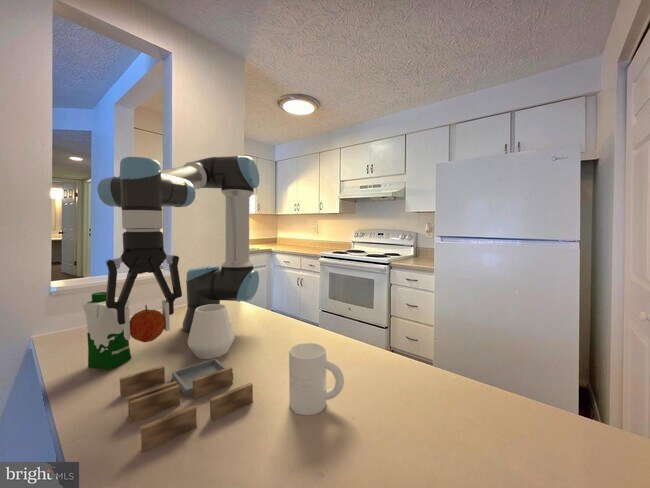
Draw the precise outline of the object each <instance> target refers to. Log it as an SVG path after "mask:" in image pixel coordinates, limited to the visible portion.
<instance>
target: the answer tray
mask: <svg viewBox="0 0 650 488" xmlns="http://www.w3.org/2000/svg"><path fill="white" fill-rule="evenodd" d="M225 368H227V367H226V366H225V365H224V364H223V363H222V362H221V361H219V360H218V359H217V358H211V359H208V360H206V361H202V362H200V363H196V364H193V365H190V366H187V367H184V368H180V369H177V370H174V371H172V372H171V379H172V380H173V382H174V381H176V382H177V385H179V386H180V391H182V393H183V394H184V396H185V397H186V398H188V397H190V396H193V379H196V378H199V377H202V376H205V375H208V374H211V373H213V372H216V371H219V370H222V369H225ZM233 380H234V372H232V381H233Z"/></svg>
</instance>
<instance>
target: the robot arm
mask: <svg viewBox="0 0 650 488" xmlns="http://www.w3.org/2000/svg"><path fill="white" fill-rule="evenodd" d="M161 168H162V167H161V164H160V162H159V161H158V160H156V159H154V158H149V157H144V156H126V157H123V158H122V159H121V160H120V161H119V176H111V177H105V178H102V179H101V180H100V181H99V183H98V184H97V190H96V191H97V195H98V197H99V200H100V201H101V202H102V203H103V204H104V205H106V206H109V207H115V208H116V207H117V208H121V222H122V223H121V227H122V229H123V230H125V231H123V233H122V247H123V248H122V254H121V255H120V257H117V258H114V259H106V261H105V265H106V268H107V270H108V273H107V284H106V285H107V286H106V292H107V293H106V306H107V307H108V308H114V309H117V321H118V323H119V325H121V324H124V337H125V339H126V340H131V335H130V320H131V317H130V307H129V308H128V307H127V306H126V307H125V305H126V303H127V300H128V299H129V297H130V294H131V293H132V289H133V287H134V283H135V281H136V279H137V277H138V275H142V274H145V273H150V274H153V276H154V278H155V280H156V281H157V284H158V286H159V288H160V291H161V292H162V294H163V296H164V299H165V300H162V301H161V310H162V311H161V314H162V315H163V317H164V319H165V327H164V331H166V332H168V331H170V330H171V327H170V322H171V321H170V316H171V315H172V316H173V315H174V312H175V310H174V309H175V306H174V305H175V304H174V302H175V301H176V299H178V298H181V297H183V293H182V286H181V280H180V273H179V272H180V271H179V267H178V265H179V261H180V256H178V255H174V254H172V255H171V254H167V253H166V252H165V250H164V232H163V231H161V229H163V228H164V227H163V226H164V223H163V207H173V208H174V207H175V208H186V207H188V206H191V205H192V204H193V202H195V201H194V200H195V199H196V190H200V189H220V191H221V193H222V195H224V196H225V260H224V262H223V263H221V266H220V265H217V264H214V265H205V266H201V267H195V268H191V269H188V271H187V272H186V279H185V283H186V303H187V305H186V306H187V307H186V312H185V315H184V317H183V321H182V330H183V332H187V333H190V330H191V326H192V322H193V317H194V313H195V310H196V308H198V307H200V306H203V305H209V304H221V301H224V302H225V301H228V302H229V301H230V302H232V301H233V302H249V301H251V300H252V299H253V298H254V297H255V296H256V293H257V292H258V289H259V283H260V275H259V272H258V270H257V269H254V264H253V263H252V262H251V261H250V198H251V197H252V195H254V190H255V189H257V188H258V187H259V184H260V173H259V170H258V166H257V164H256V162H255V161H254V159H253V158H252V157H251V156H246V155H245V156H243V155H235V156H233V155H232V156H210V157H205V158H202V159H198V160H193V161H189V162H186V163H185V164H184V165H183V166H177V167H172V168H167V169H161ZM165 260H166V263H167V264H168V268H169V274H170V280H171V286H172V287H171V288H172V291H171V289H170V287H169V285H168V283H167V281H166V279H165V276H164V274H163V271H162V269H161V266H162V264H163V263H164V262H165ZM122 263H123V264H124V265H125V266H126V267H127V268H128V272H127V274H126V279H125V280H124V284H123V286H122V288H121V291H120V294H119V296H118V298H119V299H118V301H117V302H115V297H116V291H117V290H116V289H117V280H118V279H117V278H118V269H120V267H121V264H122Z"/></svg>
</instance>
